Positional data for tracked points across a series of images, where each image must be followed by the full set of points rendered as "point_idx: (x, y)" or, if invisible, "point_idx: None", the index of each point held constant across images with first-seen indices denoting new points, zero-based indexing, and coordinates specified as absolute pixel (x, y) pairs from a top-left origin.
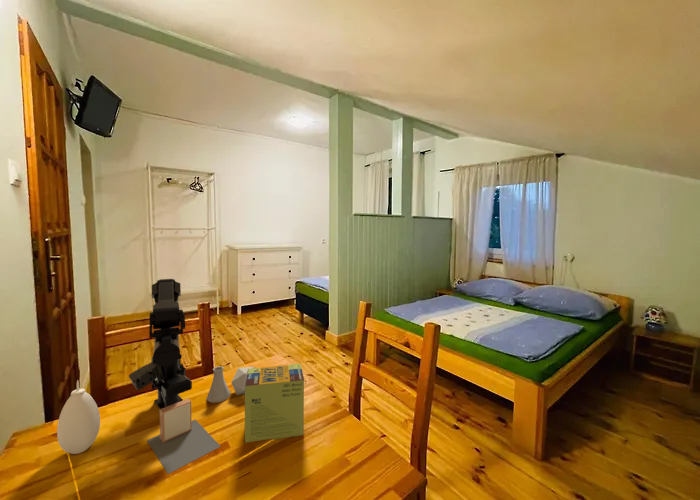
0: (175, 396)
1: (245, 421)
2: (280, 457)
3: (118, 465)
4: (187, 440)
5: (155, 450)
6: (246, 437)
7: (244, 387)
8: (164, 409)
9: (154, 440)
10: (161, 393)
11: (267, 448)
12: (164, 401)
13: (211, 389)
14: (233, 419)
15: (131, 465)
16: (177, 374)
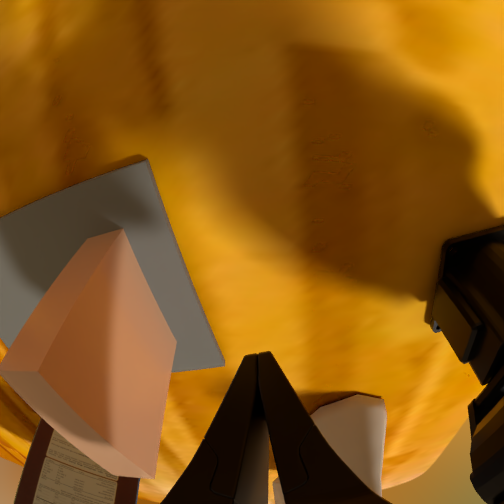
0: (448, 335)
1: (26, 459)
2: (7, 417)
3: (26, 57)
4: None
5: (43, 207)
6: (40, 422)
7: (276, 491)
8: (35, 390)
9: (122, 201)
10: (313, 440)
11: (29, 420)
12: (263, 387)
13: (354, 446)
14: (166, 428)
15: (4, 115)
16: (479, 470)
